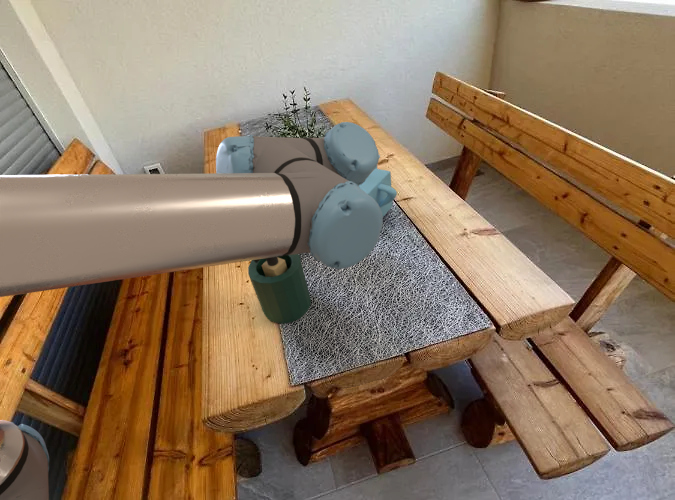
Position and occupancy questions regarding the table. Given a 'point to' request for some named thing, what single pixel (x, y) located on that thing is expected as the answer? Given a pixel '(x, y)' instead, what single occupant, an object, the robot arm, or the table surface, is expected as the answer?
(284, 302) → the green plastic cup
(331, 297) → the table surface
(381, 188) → the teakettle
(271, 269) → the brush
